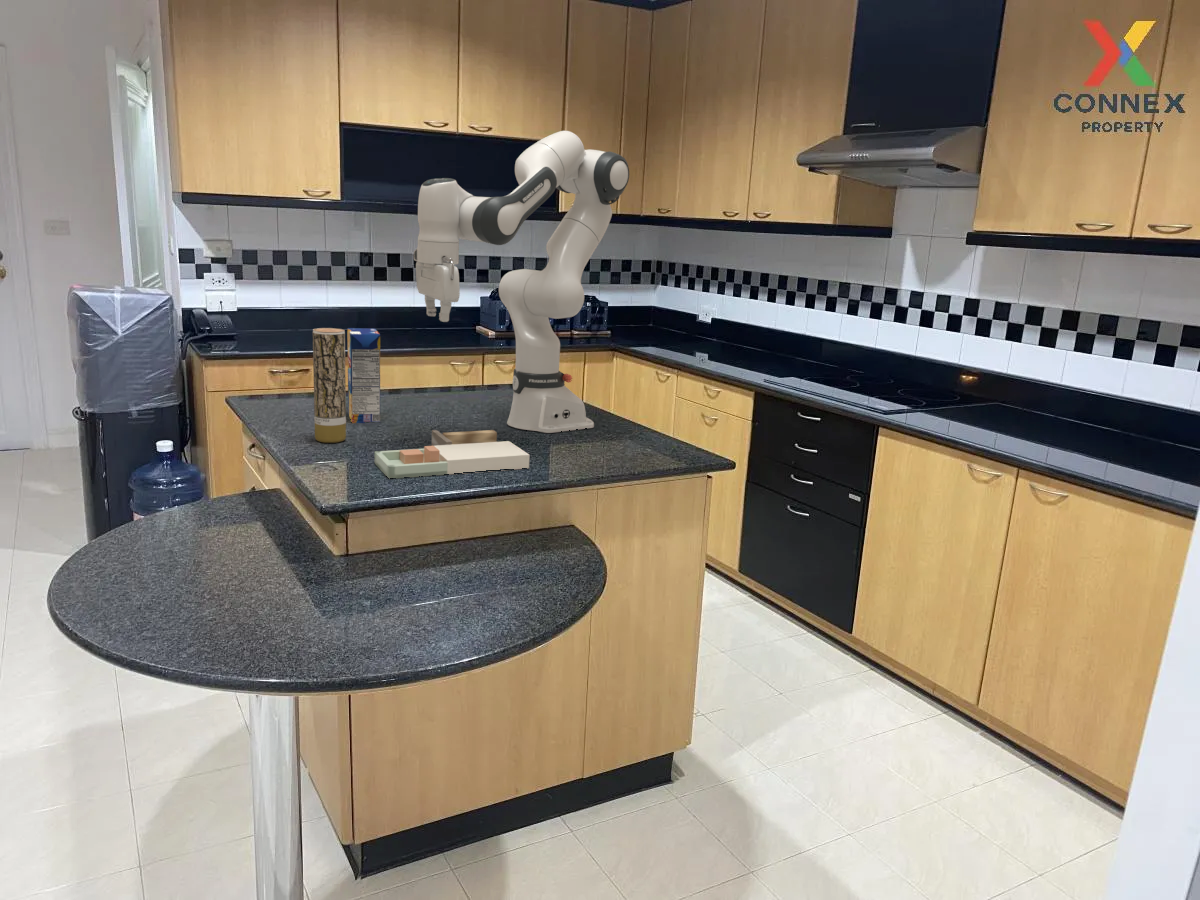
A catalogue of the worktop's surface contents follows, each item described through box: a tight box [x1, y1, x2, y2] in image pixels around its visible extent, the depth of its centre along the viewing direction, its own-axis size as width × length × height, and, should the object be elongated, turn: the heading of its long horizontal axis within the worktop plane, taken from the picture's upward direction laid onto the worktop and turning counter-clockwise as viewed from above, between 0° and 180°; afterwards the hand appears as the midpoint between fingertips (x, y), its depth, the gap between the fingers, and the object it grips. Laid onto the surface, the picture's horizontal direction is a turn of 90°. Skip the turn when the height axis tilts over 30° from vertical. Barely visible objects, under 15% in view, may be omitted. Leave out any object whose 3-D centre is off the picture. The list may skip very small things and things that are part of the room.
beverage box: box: [346, 327, 381, 424], centre depth 222 cm, size 7×11×22 cm, turn 20°
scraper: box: [431, 429, 498, 446], centre depth 201 cm, size 13×11×4 cm
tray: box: [373, 448, 448, 480], centre depth 183 cm, size 12×12×2 cm
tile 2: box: [423, 445, 440, 463], centre depth 182 cm, size 4×4×2 cm
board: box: [435, 440, 530, 475], centre depth 190 cm, size 18×12×3 cm, turn 117°
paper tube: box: [312, 327, 347, 444], centre depth 199 cm, size 7×7×25 cm
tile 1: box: [399, 448, 424, 464], centre depth 186 cm, size 4×4×2 cm
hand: (437, 318), depth 198 cm, fingers open, 8 cm apart
